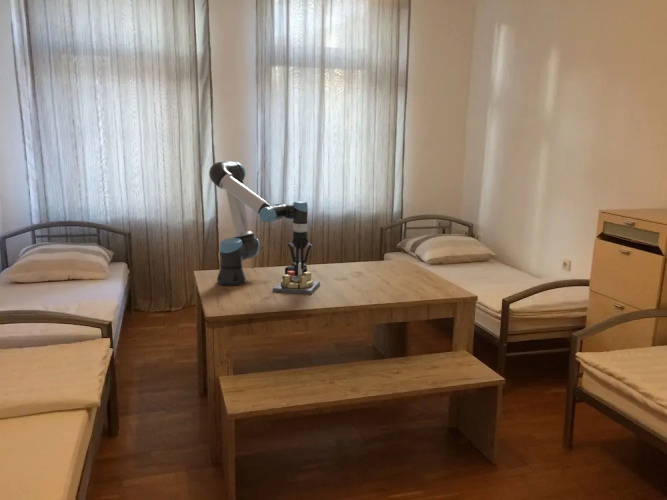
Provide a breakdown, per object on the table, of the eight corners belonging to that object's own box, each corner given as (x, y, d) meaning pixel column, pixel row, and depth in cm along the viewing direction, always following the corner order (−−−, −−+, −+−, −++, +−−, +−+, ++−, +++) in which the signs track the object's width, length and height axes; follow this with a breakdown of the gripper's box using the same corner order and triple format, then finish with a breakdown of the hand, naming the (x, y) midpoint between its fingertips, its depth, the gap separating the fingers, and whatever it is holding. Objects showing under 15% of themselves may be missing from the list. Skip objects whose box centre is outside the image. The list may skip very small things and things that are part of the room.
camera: (281, 276, 327) (281, 258, 325) (297, 274, 331) (297, 257, 329) (291, 282, 313) (292, 264, 311) (309, 280, 317) (309, 262, 316)
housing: (272, 291, 293) (272, 280, 292) (283, 282, 312) (284, 271, 311) (310, 294, 289) (310, 283, 288) (319, 284, 308) (320, 274, 307)
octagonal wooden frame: (277, 287, 294) (277, 276, 293) (286, 279, 310) (286, 269, 309) (308, 289, 291) (308, 278, 290) (315, 281, 306) (315, 271, 305)
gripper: (286, 231, 299) (286, 275, 303) (310, 232, 296) (310, 277, 301) (290, 229, 306) (290, 272, 311) (314, 230, 303) (313, 274, 308)
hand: (300, 274), depth 306 cm, fingers closed
